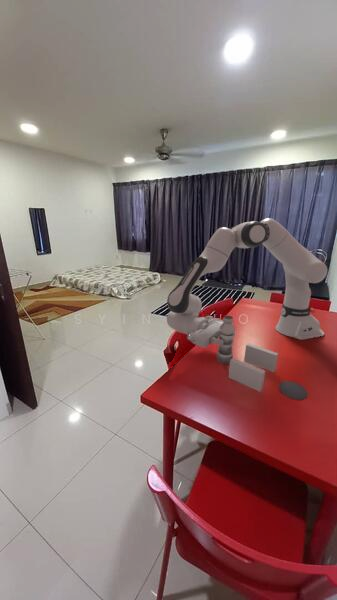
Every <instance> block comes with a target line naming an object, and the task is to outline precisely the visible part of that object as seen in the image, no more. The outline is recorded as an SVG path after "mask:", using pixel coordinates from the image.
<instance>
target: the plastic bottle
mask: <svg viewBox="0 0 337 600" xmlns="http://www.w3.org/2000/svg"><path fill="white" fill-rule="evenodd" d="M222 321H223V322H224V323H223V324H222V325H221V326H220V328H219V338H218V339H223V340H225V343H224V344H223V345H220V344H218V349H217V352H216V360H217V361H218V362H219V363H220V364H222V365H230V360H231V359H232V358H234V357H233V344H234V339H235V335H236V327H235V325H234V324H233V323H234V317H233V316H232V315H224V316H223V318H222Z"/></svg>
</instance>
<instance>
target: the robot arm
mask: <svg viewBox="0 0 337 600" xmlns="http://www.w3.org/2000/svg"><path fill="white" fill-rule="evenodd" d="M261 245H263V247H265V248H266V250H267V251H269V253H270V254H271V255H272V256H273V257H274V258H275V259H276V260H277V261H278V262H280V263H281V264H282V268H283V270H284V275H285V293H284V298H283V303H281V304H282V305H281V309H280V317H279V320H278V322H277V324H276V326H275V330H276V331H277V332H278V333H280V334H282V335H284V336H287V337H290V338H294V339H297V340H300V341H301V340H303V341H304V340H308V339H314V337H315V338H319V337H320V336H321V337H324V336H325V332H324V331H323V330H322V329H321V324H320V321H319V320H318V319H317V318H316V317H314V315H312V314H314V313H316V312H317V311H316V309H315V308H313V307H310V306H309V305H310V302H311V301H310V300H311V295H312V291H311V288H310V284H319V283H320V282H322V281H323V280H324V279H325V278H326V277H327V274H328V266H327V264H325V263H324V262H323V261H321V260H320V259H319V258H318V257H316V255H314V254H313V253H312V252H311V251H309V250H308V249H307V248H306V247H305V246H303V245H302V244H301V243H300V242H298V240H297V239H296V238H295V237H294V236H293V235H292V234H291V233H290V232H289V231H288V230H287V229H286V228H285V227H284V225H282V224H281V223H279V222H278V220H275V219H274V218H271V217H267V218H263V219H262V220H261V221H257V220H252V221H246V222H242V223H240V224H236V225H234V226H232V227H231V228H228V227H226V226H223V227H222V226H221V227H219V228H218V229H216V230H215V232H214V233H213V234H212V236H211V237H210V239H209V240H208V242H207V244H206V246H205V247H204V250H203V251H202V252H201V254H200V255H199V256H198V257H197V258H195V259H194V261H193V262H192V263H191V265H189V267H188V268H187V270H186V272H185V273H184V274H183V276H182V277H181V279H180V281H179V282H178V284H177V285H176V286H175V287H174V288H173V289H172V290H171V291H170V292H169V293H168V296H167V299H166V302H167V307H168V309H169V312H168V313H167V315H166V323H167V326H169V328H171V329H172V330H174V331H176V332H178V333H180V334H185V335H187V336H186V339H187V340H188V341H190V342H191V343H192V344H194V345H195V346H197V347H199V348H202V349H206V348H207V347H209V346H210V345H211V344H214V345H219V344H220V345H223V344H224V343H225V340H223V339H219V328H220V326H221V325H222V324H223V323H224V322H223V319H219V318H215V317H213V316H211V315H206V316H202V317H201V316H200V317H199V315H200V313H201V311H202V309H203V308H202V307H203V303H202V302H203V301H202V299H201V297H199V296H198V295H196V294H192V291H193V289H195V286H196V285H197V283H198V282H199V280H200V278H202V277H203V276H204V275H206V274H210V273H217V272H219V271H221V270H222V269H223V267H224V266H225V265H226V264H227V262H228V260H229V257H230V256H231V254H232V252H233V250H234V249H249V248H250V249H251V248H257V247H259V246H261Z"/></svg>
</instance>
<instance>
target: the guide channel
mask: <svg viewBox="0 0 337 600" xmlns="http://www.w3.org/2000/svg"><path fill="white" fill-rule="evenodd" d="M278 358H279V353H278V352H275V351H272V350H269V349H267V348H264V347H261V346H258V345H255V344H252V343H249V342H248V343H246V344H245V350H244V357H243V359H244V360H243V361H241V360H239V359H236V358H234V357H233V358H232V359H231V360H230V363H229V368H228V378H229V379H230V380H233V381H236V382H238V383H239V384H242V385H244V386H246V387H248V388H250V389H252V390H255V391H257V392H259V393H260V392H262V390H263V388H264V381H265V376H266V375H265V374H266V370H267V371H269V372H272V373H274V372H275V371H276V369H277V363H278ZM258 367H259V368H258ZM261 368H262V369H261ZM263 369H264V370H263Z"/></svg>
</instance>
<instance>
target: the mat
mask: <svg viewBox="0 0 337 600" xmlns="http://www.w3.org/2000/svg"><path fill="white" fill-rule="evenodd" d="M278 389H279V391H280V393H281V394H282V395H283V396H285V397H287V398H289V399H290V400H296V401H303V400H306V399H307V398H308V394H309V393H308V391H307V389H306V388H305V387H303V385H301V384H300V383H297V382H295V381H289V380H288V381H287V380H285V381H282V382H280V383H279V384H278Z"/></svg>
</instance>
